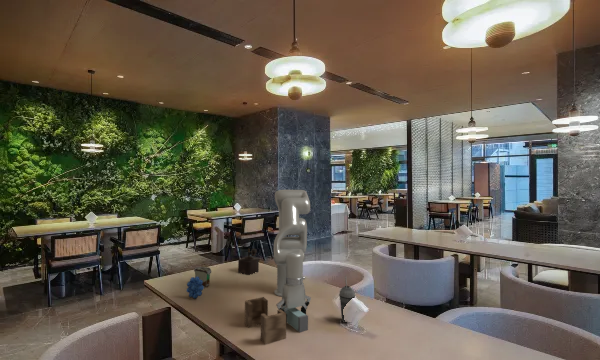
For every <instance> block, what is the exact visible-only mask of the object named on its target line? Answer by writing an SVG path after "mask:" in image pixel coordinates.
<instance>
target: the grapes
mask: <svg viewBox="0 0 600 360" xmlns="http://www.w3.org/2000/svg"><path fill="white" fill-rule="evenodd" d="M202 283H203V281H202V280H199V277H195V276H193V277H190V279H189V281H187V283H186V286H187V288H186V292H187V293H188V296H189V297H190V298H193V299H194V300H196V299H197V298H198V297H200V296H202V294H203V290H204V289H205V287H204V286H203V285H202Z"/></svg>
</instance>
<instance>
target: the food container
mask: <svg viewBox="0 0 600 360" xmlns="http://www.w3.org/2000/svg"><path fill="white" fill-rule="evenodd" d="M193 272H194V278H195V277H199V280H202V281H203V283H202V285H203V286H204V288H208V287H209V286H210V281H211V274H212V269H211V267H207V266H198V267H195V268H194V271H193Z"/></svg>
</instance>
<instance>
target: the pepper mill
mask: <svg viewBox="0 0 600 360" xmlns="http://www.w3.org/2000/svg"><path fill="white" fill-rule="evenodd" d="M250 250H251V251H250ZM257 252H258V250H257V249H256V248H251V249H250V248H247V255H245V256H244V257H242V258H239V259H238V261H237V263H238V264H237V268H238V271H237V273H238V274H241V273H242V275H246V276H251V275H253V273H254V274H256V273H255V272H257V273H259V267H260V265H259V263H260V262H259V261H260V260H259V259H260V258H256V255H257ZM250 254H251V255H250ZM250 274H251V275H250Z"/></svg>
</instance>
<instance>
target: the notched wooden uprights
mask: <svg viewBox="0 0 600 360" xmlns="http://www.w3.org/2000/svg"><path fill="white" fill-rule="evenodd" d="M268 304H269V300H268V299H267V298H265V296H261V297H258V298H257V297H256V298H252V299H247V300H244V324H245V325H246V327H247V328H252V327H256V326H260V340H261V342H262V343H263V344H264V345H270V344H273V343H275V342H279V341H282V340H286V339H287V323H286V313H285V312H283V311H282V310H278V309H277V313H275V314H271V315H270V314H269V313H268V312H269V311H268V310H269V308H268V306H269V305H268ZM268 314H269V315H268Z"/></svg>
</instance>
